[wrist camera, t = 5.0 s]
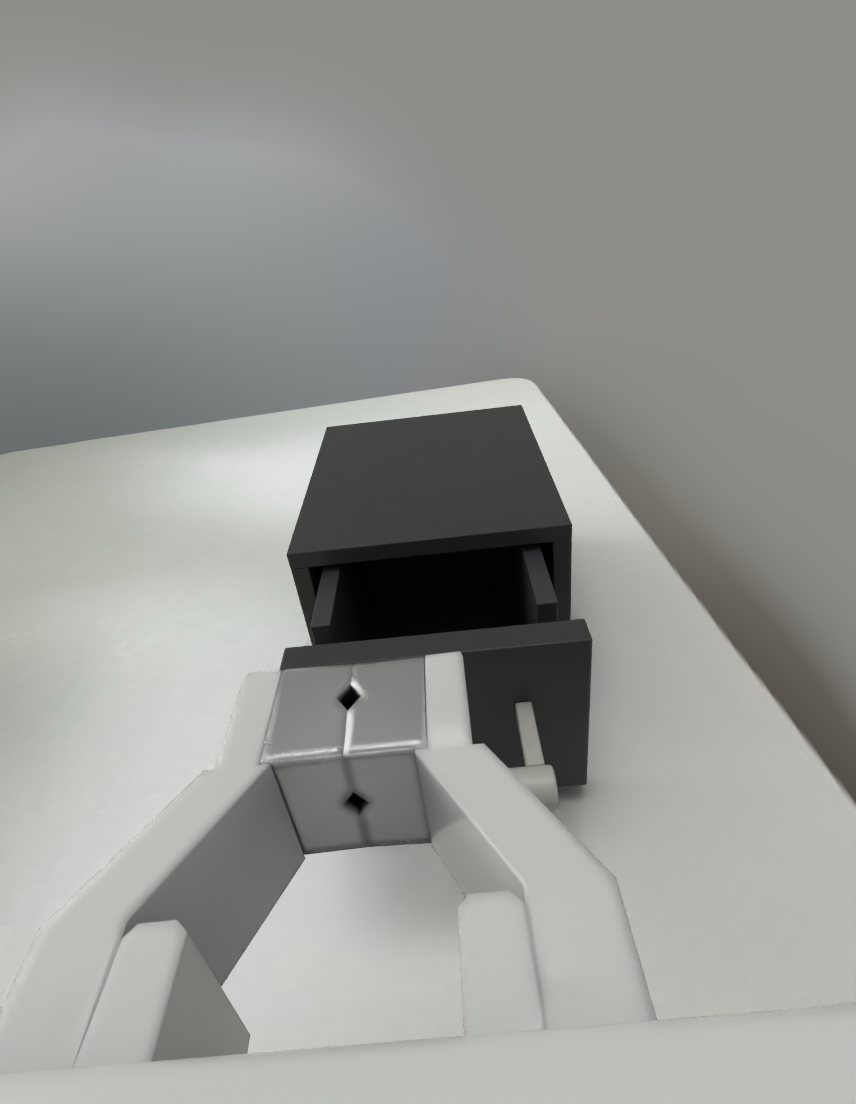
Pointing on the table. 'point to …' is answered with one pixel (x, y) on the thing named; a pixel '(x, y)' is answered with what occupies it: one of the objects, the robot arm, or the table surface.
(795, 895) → the table surface
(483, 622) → the black drawer
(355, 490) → the dark grey drawer cabinet
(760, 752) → the table surface
